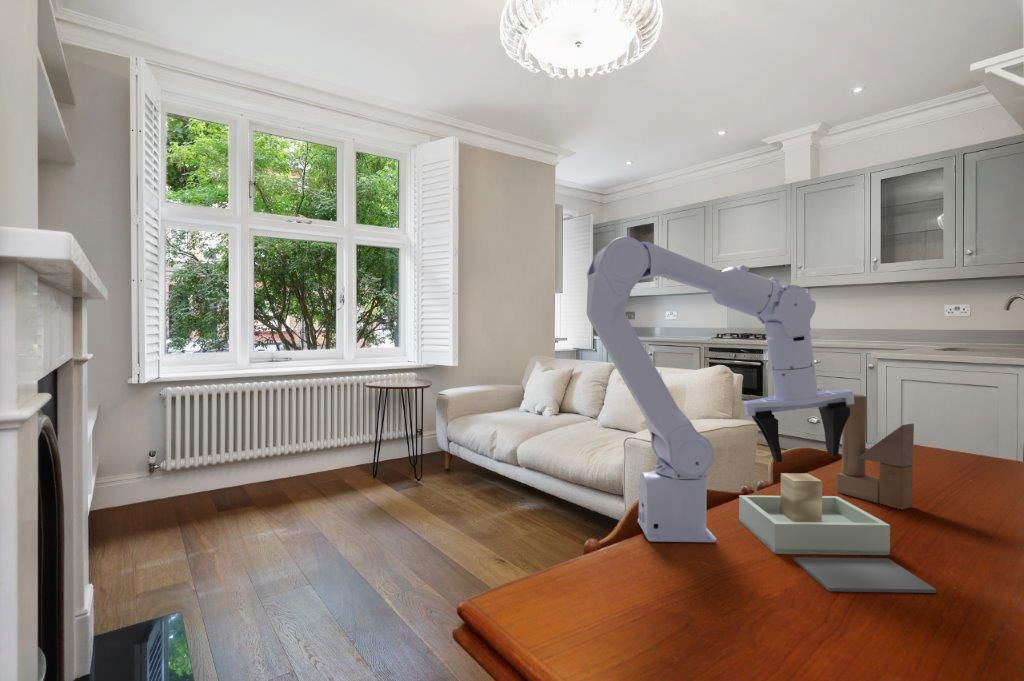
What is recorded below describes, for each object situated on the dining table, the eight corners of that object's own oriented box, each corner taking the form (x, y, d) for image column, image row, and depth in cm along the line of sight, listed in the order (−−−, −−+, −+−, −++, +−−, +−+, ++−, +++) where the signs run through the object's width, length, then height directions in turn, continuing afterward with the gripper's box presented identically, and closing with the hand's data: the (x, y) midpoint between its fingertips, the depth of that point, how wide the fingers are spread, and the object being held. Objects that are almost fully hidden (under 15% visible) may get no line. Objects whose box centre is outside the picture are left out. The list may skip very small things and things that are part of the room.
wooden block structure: (901, 510, 87) (903, 401, 86) (835, 492, 96) (837, 394, 96) (913, 507, 89) (915, 400, 88) (847, 489, 98) (849, 393, 98)
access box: (774, 553, 70) (775, 523, 70) (738, 520, 82) (739, 495, 82) (889, 555, 70) (890, 525, 70) (836, 521, 82) (837, 496, 82)
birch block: (793, 522, 76) (794, 480, 76) (780, 512, 80) (780, 473, 80) (821, 522, 76) (822, 481, 76) (807, 512, 80) (807, 473, 80)
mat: (828, 591, 60) (828, 587, 60) (793, 560, 68) (793, 557, 68) (936, 592, 60) (936, 589, 60) (888, 561, 68) (888, 558, 68)
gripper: (833, 357, 80) (845, 445, 81) (733, 370, 83) (746, 455, 83) (855, 361, 73) (868, 457, 74) (746, 376, 76) (759, 468, 76)
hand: (805, 457), depth 78 cm, fingers open, 7 cm apart
